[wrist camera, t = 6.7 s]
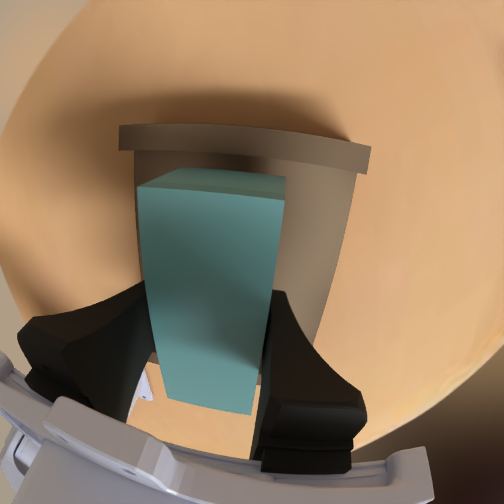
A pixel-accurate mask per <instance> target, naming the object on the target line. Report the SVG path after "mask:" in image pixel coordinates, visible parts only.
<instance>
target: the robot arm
mask: <svg viewBox="0 0 504 504" xmlns="http://www.w3.org/2000/svg"><path fill="white" fill-rule="evenodd" d="M17 340H18V343H19V345H20V348H21V350H22V351H23V353H24V355H25V357H26V358H27V360H28V362H29V364H30V365H31V367H32V369H31V371H30V372H29V374H27V376H25V375H24V374H22V373H21V372H20V371H18V370H17V369H15V368H14V366H13V364H12V362H11V361H10V359H9V358H8V357H7V356H6V355H5V354H4V353H3V352H2V351H0V415H2V416H3V417H4V418H5V419H6V420H7V421H8V422H9V423H11V424H12V425H13V427H12V428H11V430H10V432H9V434H8V436H7V438H6V440H5V445H4V447H3V449H2V451H1V453H0V459H1V460H0V466H1V468H2V470H3V472H4V474H5V476H6V478H7V480H8V482H9V484H10V485H11V487H12V489H13V491H14V492H15V495H16V496H15V498H14V500H13V502H12V504H425V503H428V502H430V501H432V500H433V499H434V492H433V485H432V479H431V474H430V468H429V463H428V458H427V454H426V449H425V447H418V448H412V449H406V450H401V451H398V452H396V453H394V454H392V455H391V456H389V457H388V458H387V460H382V461H373V462H363V463H351V450H352V449H353V447H354V445H353V438H354V437H355V436H356V435H357V434H358V433H359V432H360V431H361V429H362V428H363V427H364V426H365V424H366V422H367V411H366V406H365V403H364V400H363V397H362V394H361V391H359V390H358V389H356V388H355V387H354V386H352V385H351V384H350V383H348V382H347V381H346V380H344V379H343V378H342V377H341V376H340V375H339V374H337V373H336V372H335V371H334V370H333V369H332V368H331V367H330V366H329V365H328V364H327V363H326V362H325V361H324V360H323V358H322V357H321V356H320V355H319V354H318V353H317V351H316V350H315V349H314V347H313V346H312V345H311V343H310V342H309V340H308V339H307V337H306V336H305V334H304V332H303V331H302V329H301V327H300V325H299V323H298V321H297V319H296V317H295V315H294V313H293V311H292V309H291V306H290V304H289V301H288V298H287V294H286V292H285V291H281V290H274V289H272V294H271V301H270V307H269V313H268V319H267V325H266V332H265V338H264V344H263V349H262V370H261V389H260V396H259V403H258V410H257V416H256V422H255V429H254V435H253V441H252V446H251V452H250V458H249V460H247V459H240V458H234V457H228V456H222V455H217V454H212V453H207V452H203V451H198V450H194V449H190V448H186V447H182V446H178V445H175V444H171V443H168V442H165V441H161V440H159V439H157V438H156V437H154V436H152V435H151V434H149V433H147V432H145V431H142V430H140V429H138V428H136V427H133V426H131V425H128V424H126V422H127V419H128V417H129V415H130V413H131V411H132V409H133V407H134V405H135V403H136V401H137V399H138V397H139V398H142V399H145V400H149V401H152V400H153V395H152V392H151V389H150V385H149V382H148V379H147V375H146V372H145V368H144V367H145V365H146V363H147V361H148V359H149V357H150V355H151V354H152V352H153V350H154V348H155V347H156V346H155V341H154V336H153V331H152V325H151V320H150V314H149V308H148V301H147V295H146V288H145V280H143V281H141V282H139V283H138V284H136V285H134V286H132V287H130V288H129V289H127V290H125V291H123V292H121V293H119V294H117V295H115V296H113V297H111V298H108V299H106V300H104V301H101V302H99V303H96V304H93V305H91V306H87V307H84V308H81V309H77V310H74V311H70V312H65V313H60V314H55V315H47V316H37V317H32V318H31V319H30V320H29V321H28V323H27V324H26V325H25V326H24V327H23V328H22V329H21V330H20V331H19V332H18V333H17Z"/></svg>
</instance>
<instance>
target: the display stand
mask: <svg viewBox="0 0 504 504" xmlns="http://www.w3.org/2000/svg"><path fill="white" fill-rule="evenodd" d="M119 150H134V186H135V212H136V229H137V242H138V253H139V262H140V271H141V279H142V281H143V280H144V272H143V264H142V254H141V244H140V232H139V218H138V198H137V187H138V186H140V185H142V184H144V183H147V182H149V181H151V180H153V179H156V178H158V177H160V176H162V175H165V174H167V173H169V172H172V171H174V170H177V169H179V168H182V167H191V168H206V169H219V170H231V171H242V172H252V173H261V174H269V175H277V176H285V177H286V187H285V203H284V211H283V218H282V226H281V233H280V240H279V247H278V254H277V261H276V268H275V274H274V281H273V288H272V289H274V290H281V291H285V292H286V294H287V298H288V301H289V304H290V306H291V309H292V311H293V313H294V315H295V317H296V319H297V321H298V323H299V325H300V327H301V329H302V331H303V332H304V334H305V336H306V337H307V339H308V340H309V342H310V343H311V345H313V342H314V339H315V336H316V333H317V330H318V327H319V324H320V321H321V318H322V314H323V311H324V308H325V305H326V301H327V298H328V294H329V291H330V287H331V284H332V280H333V277H334V273H335V269H336V266H337V262H338V258H339V254H340V250H341V246H342V242H343V238H344V234H345V229H346V225H347V220H348V216H349V211H350V207H351V202H352V197H353V192H354V187H355V181H356V176H357V173H362V174H367V169H368V163H369V157H370V151H371V146H366V145H362V144H358V143H353V142H349V141H344V140H339V139H334V138H329V137H323V136H317V135H311V134H305V133H299V132H292V131H284V130H276V129H268V128H258V127H248V126H235V125H218V124H186V123H168V124H137V125H121V126H119ZM148 362H152V363H155V364H159V360H158V356H157V351H156V347H155V348H154V350H153V352H152V354H151V355H150V357H149V359H148ZM261 370H262V355H261V361H260V367H259V372H258V378H257V384H256V385H261Z"/></svg>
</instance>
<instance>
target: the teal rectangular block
mask: <svg viewBox="0 0 504 504" xmlns="http://www.w3.org/2000/svg"><path fill="white" fill-rule="evenodd" d="M285 187H286V177H285V176H277V175H269V174H261V173H252V172H242V171H231V170H219V169H206V168H191V167H182V168H179V169H177V170H174V171H172V172H169V173H167V174H165V175H162V176H160V177H158V178H156V179H153V180H151V181H149V182H147V183H144V184H142V185H140V186H138V187H137V198H138V218H139V232H140V244H141V254H142V264H143V272H144V280H145V288H146V295H147V301H148V308H149V314H150V320H151V325H152V331H153V336H154V341H155V346H156V351H157V356H158V360H159V365H160V369H161V373H162V377H163V382H164V386H165V389H166V393H167V397H168V398H170V399H174V400H177V401H181V402H185V403H189V404H194V405H198V406H202V407H207V408H212V409H217V410H222V411H227V412H233V413H239V414H245V415H251V411H252V405H253V400H254V395H255V389H256V384H257V378H258V372H259V367H260V361H261V355H262V349H263V344H264V338H265V332H266V325H267V319H268V313H269V307H270V301H271V294H272V288H273V281H274V274H275V268H276V261H277V254H278V247H279V240H280V233H281V226H282V218H283V211H284V203H285Z"/></svg>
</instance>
